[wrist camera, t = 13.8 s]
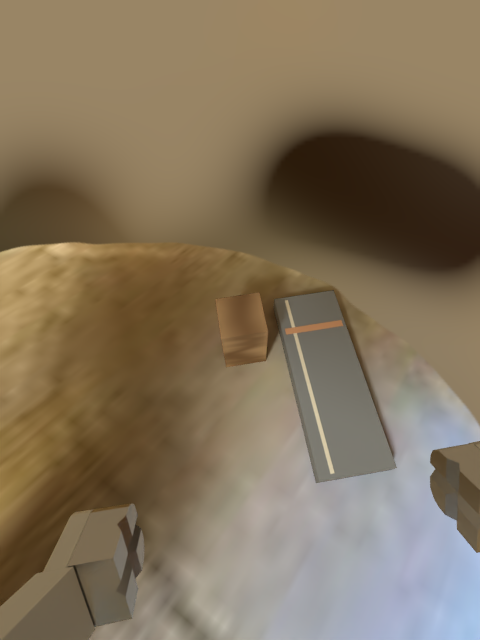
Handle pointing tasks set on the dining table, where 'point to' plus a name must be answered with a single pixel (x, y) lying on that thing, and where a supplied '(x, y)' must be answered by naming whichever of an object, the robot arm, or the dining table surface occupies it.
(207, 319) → the dining table surface
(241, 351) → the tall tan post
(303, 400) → the board
